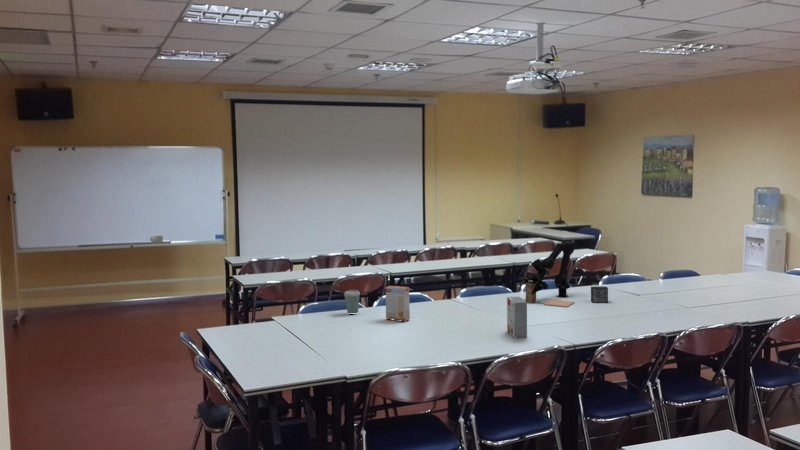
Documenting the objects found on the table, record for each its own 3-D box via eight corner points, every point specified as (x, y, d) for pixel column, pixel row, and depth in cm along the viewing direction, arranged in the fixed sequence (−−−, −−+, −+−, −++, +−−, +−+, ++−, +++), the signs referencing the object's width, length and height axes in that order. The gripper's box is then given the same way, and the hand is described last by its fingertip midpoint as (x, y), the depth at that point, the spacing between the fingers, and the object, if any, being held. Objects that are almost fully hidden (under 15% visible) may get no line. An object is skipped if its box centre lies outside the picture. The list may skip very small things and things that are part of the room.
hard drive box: (506, 331, 369) (506, 296, 368) (519, 330, 370) (519, 296, 368) (513, 338, 354) (513, 302, 352) (527, 337, 355) (527, 301, 353)
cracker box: (410, 320, 400) (409, 286, 398) (405, 322, 394) (404, 288, 393) (390, 318, 407) (390, 285, 405) (385, 320, 402) (385, 286, 400)
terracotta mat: (551, 300, 450) (551, 299, 450) (574, 303, 441) (574, 301, 441) (544, 305, 436) (544, 303, 436) (567, 307, 428) (567, 306, 428)
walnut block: (530, 301, 449) (530, 282, 448) (536, 302, 445) (536, 283, 444) (525, 302, 446) (525, 283, 445) (531, 303, 442) (531, 284, 441)
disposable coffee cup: (358, 316, 413) (357, 293, 412) (342, 315, 415) (341, 292, 414) (362, 312, 423) (362, 289, 422) (346, 312, 426) (346, 289, 424)
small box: (606, 301, 446) (606, 286, 445) (608, 303, 440) (608, 287, 439) (590, 301, 447) (590, 286, 447) (592, 303, 441) (592, 287, 440)
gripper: (524, 266, 454) (513, 284, 448) (545, 269, 439) (534, 287, 433) (532, 276, 459) (521, 293, 453) (552, 279, 444) (541, 297, 438)
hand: (529, 293), depth 444 cm, fingers closed on walnut block, 5 cm apart
